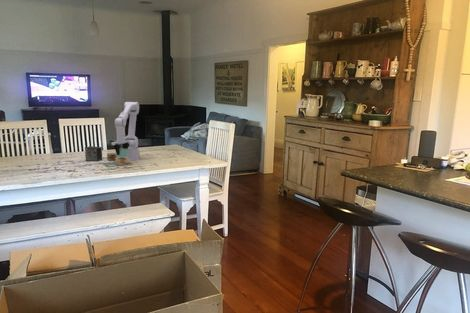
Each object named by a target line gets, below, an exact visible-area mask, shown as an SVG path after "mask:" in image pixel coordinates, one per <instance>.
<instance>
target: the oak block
mask: <svg viewBox="0 0 470 313" xmlns="http://www.w3.org/2000/svg"><path fill="white" fill-rule="evenodd" d="M114 162H116V164H117V165H125V166H127V165H126V164H129V163H130V162H129V160H128V158H127V157H117V158H115V161H114Z"/></svg>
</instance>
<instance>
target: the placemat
mask: <svg viewBox="0 0 470 313" xmlns="http://www.w3.org/2000/svg"><path fill="white" fill-rule="evenodd" d="M113 164H115V165H117V164H116V161H111V162H106V163H104V162H103V163H102V165H103V166H105V167H106V168H110V167H109V166H107V165H113ZM131 165H132V166H133V165H134V164H133V163H132V162H129V164H126V165H117V166H114V167H113V168H115V167H124V166H131Z"/></svg>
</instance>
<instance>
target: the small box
mask: <svg viewBox="0 0 470 313" xmlns="http://www.w3.org/2000/svg"><path fill="white" fill-rule="evenodd" d="M84 153H85V154H84V155H85V162H100V161H103V148H102V146H91V145H90V146H86V147H85V146H84Z"/></svg>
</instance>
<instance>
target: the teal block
mask: <svg viewBox="0 0 470 313" xmlns="http://www.w3.org/2000/svg"><path fill="white" fill-rule="evenodd" d="M119 151H120V154H119V155H117V153H116V152H115V154H116V157H117V158H121V157H126V156H127V149H125V148H123V147H120V150H119ZM126 158H127V157H126Z"/></svg>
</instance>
